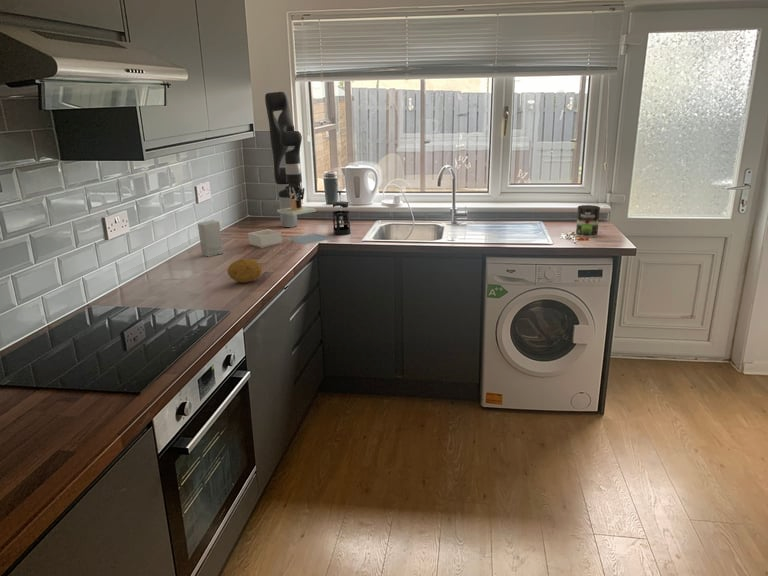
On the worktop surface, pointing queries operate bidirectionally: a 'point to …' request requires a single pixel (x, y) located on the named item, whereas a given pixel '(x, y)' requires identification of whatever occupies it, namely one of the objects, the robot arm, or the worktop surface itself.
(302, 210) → the lid
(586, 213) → the coffee can
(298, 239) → the mat
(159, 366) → the worktop surface
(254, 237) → the dish
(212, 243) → the skincare box
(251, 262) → the potato
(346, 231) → the french press
